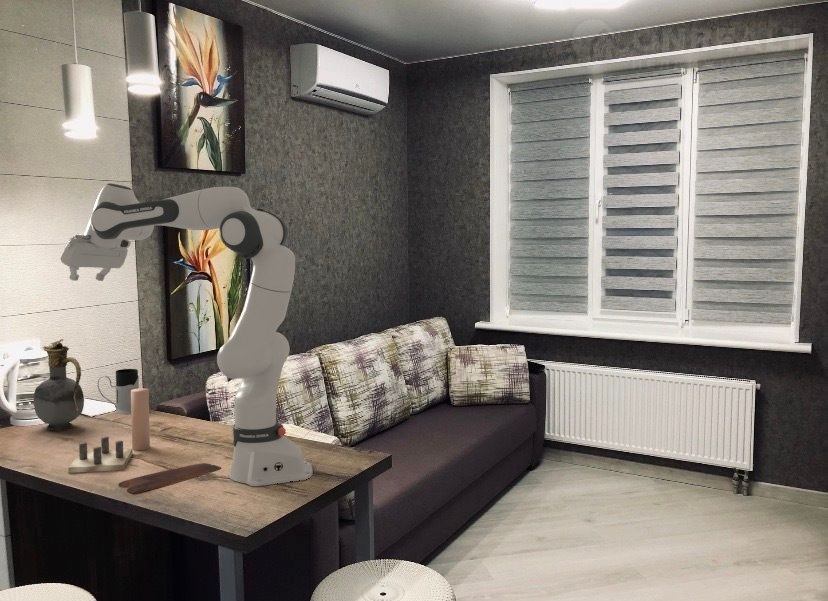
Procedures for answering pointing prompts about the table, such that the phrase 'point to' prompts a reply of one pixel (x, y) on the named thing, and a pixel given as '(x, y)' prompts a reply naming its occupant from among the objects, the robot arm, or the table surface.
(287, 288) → the robot arm
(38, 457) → the table surface
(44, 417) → the pitcher
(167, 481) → the wooden tablet
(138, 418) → the post
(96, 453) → the peg stand
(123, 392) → the glass holder
